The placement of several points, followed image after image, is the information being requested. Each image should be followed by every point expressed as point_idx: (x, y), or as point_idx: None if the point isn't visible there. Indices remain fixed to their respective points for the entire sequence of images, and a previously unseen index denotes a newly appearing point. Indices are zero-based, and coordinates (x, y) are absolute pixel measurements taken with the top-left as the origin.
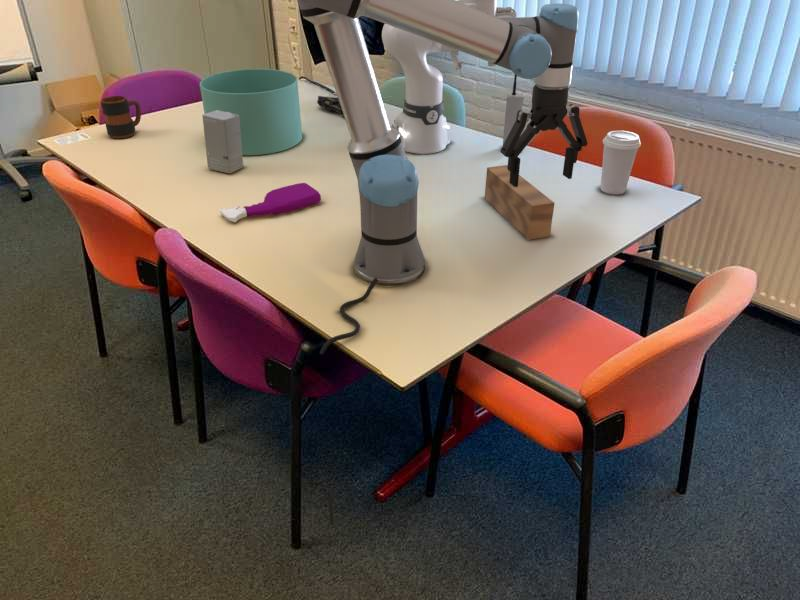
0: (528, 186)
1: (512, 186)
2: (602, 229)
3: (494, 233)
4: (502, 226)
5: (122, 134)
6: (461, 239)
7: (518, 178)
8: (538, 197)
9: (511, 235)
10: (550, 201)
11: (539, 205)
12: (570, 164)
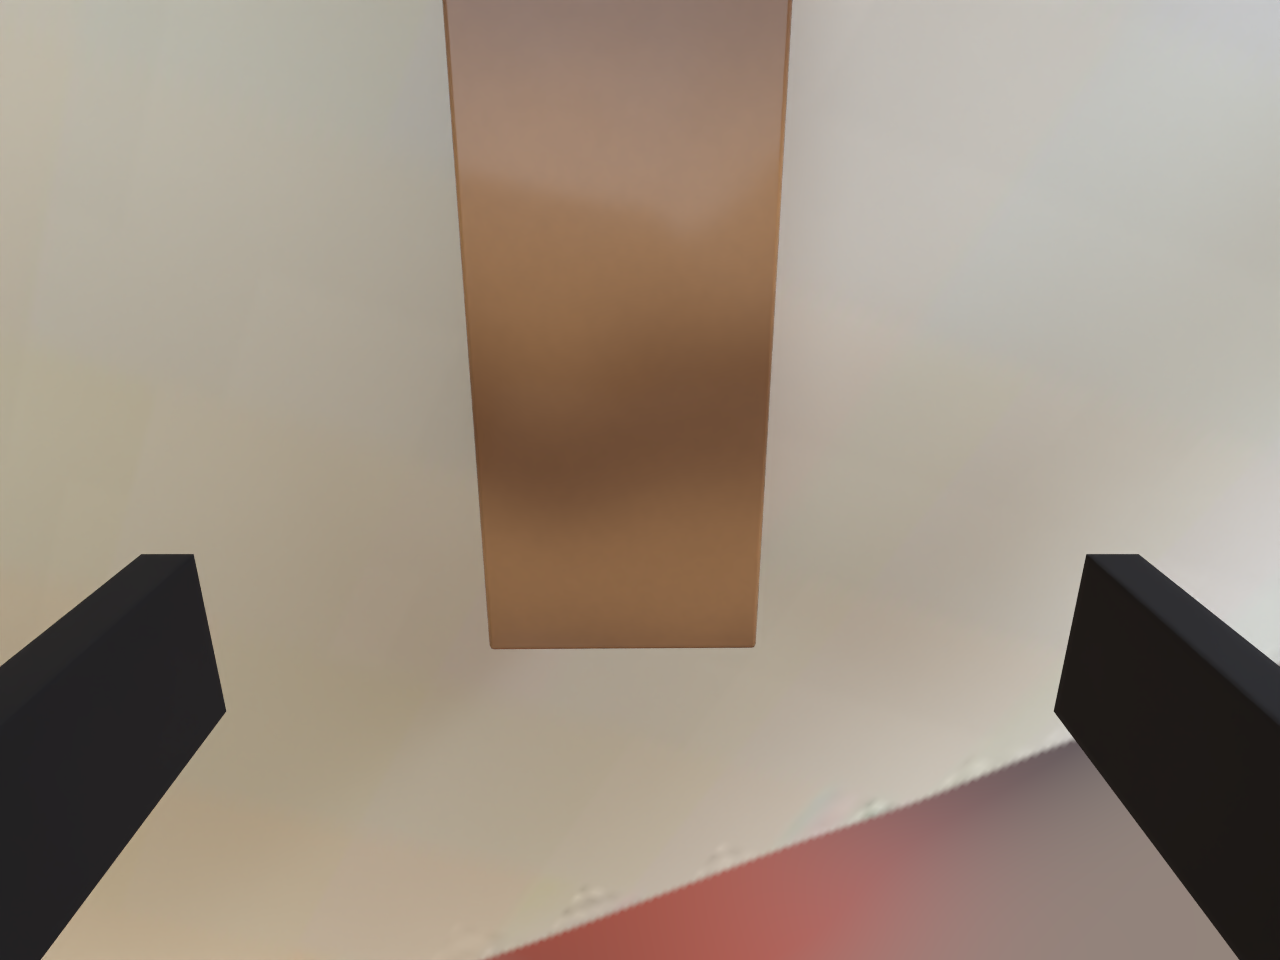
0: (707, 130)
1: (489, 45)
2: (1157, 513)
3: (310, 314)
4: (422, 213)
5: None
6: (6, 327)
7: (157, 800)
8: (658, 484)
9: (436, 389)
10: (729, 612)
11: (573, 647)
12: (1187, 888)
